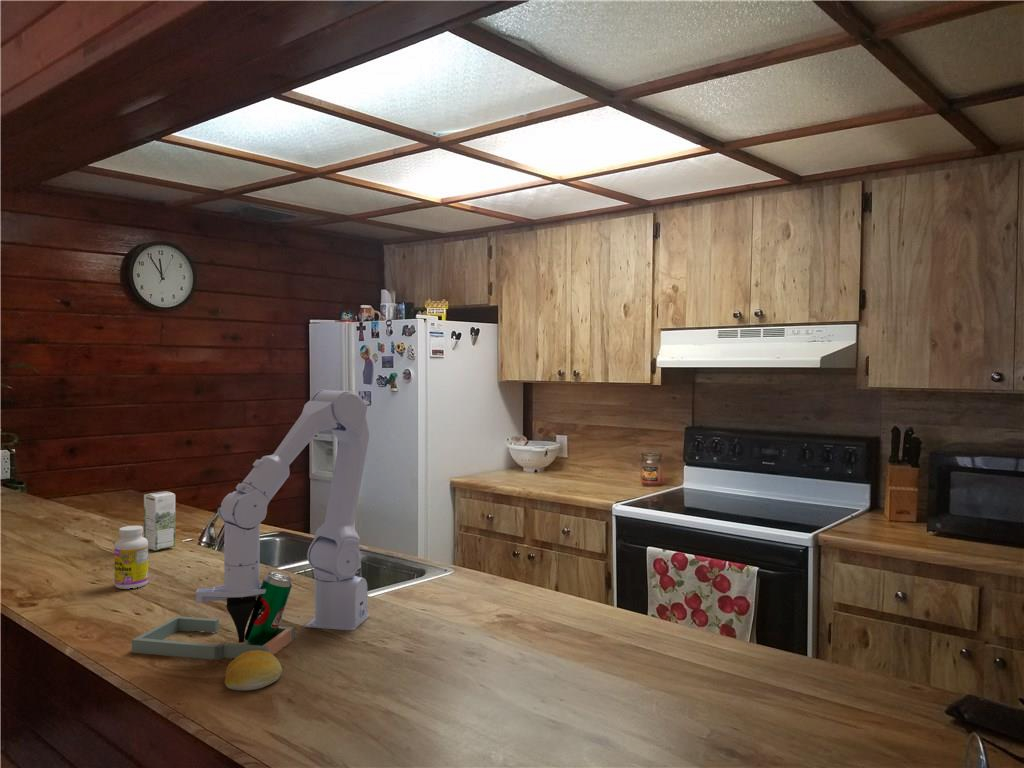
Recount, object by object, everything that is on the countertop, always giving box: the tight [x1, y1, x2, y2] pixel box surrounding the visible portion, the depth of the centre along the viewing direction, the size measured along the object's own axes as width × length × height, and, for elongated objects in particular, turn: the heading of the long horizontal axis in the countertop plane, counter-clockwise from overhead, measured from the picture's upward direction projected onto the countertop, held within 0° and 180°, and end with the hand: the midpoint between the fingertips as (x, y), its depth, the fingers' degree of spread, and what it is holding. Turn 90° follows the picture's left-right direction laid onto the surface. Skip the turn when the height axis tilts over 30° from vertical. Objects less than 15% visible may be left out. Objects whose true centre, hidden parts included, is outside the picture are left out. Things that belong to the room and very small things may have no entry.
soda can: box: [244, 571, 293, 646], centre depth 129 cm, size 5×5×12 cm
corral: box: [131, 615, 295, 661], centre depth 129 cm, size 24×12×2 cm, turn 79°
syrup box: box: [143, 490, 176, 551], centre depth 197 cm, size 6×6×14 cm
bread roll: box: [224, 650, 283, 692], centre depth 114 cm, size 8×9×4 cm
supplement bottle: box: [113, 525, 149, 590], centre depth 164 cm, size 7×7×13 cm
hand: (241, 640), depth 128 cm, fingers closed, pressing on soda can
